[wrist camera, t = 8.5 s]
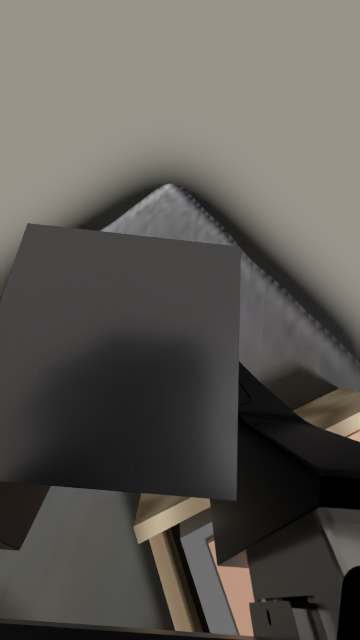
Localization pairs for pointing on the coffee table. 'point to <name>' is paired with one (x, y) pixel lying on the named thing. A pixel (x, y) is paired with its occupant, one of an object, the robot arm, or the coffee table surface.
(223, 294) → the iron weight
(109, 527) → the coffee table surface
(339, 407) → the trapdoor frame
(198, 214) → the coffee table surface
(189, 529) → the trapdoor
